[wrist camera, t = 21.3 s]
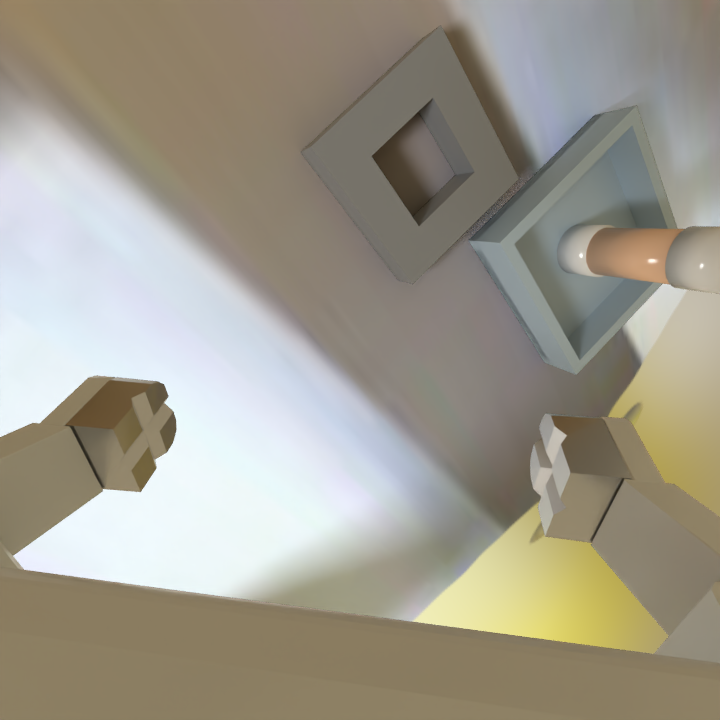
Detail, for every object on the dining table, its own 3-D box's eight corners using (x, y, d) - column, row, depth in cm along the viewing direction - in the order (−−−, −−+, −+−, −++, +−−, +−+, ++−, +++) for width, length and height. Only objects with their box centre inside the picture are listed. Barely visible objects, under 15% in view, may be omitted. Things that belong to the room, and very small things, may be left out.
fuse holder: (498, 181, 37) (519, 178, 35) (397, 280, 36) (412, 284, 34) (421, 38, 31) (440, 25, 29) (300, 152, 30) (310, 146, 28)
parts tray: (647, 254, 46) (687, 257, 43) (544, 362, 45) (576, 374, 41) (594, 115, 39) (636, 105, 35) (468, 240, 37) (499, 242, 34)
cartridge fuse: (599, 251, 42) (759, 263, 31) (568, 283, 42) (719, 307, 30) (582, 214, 40) (747, 212, 28) (550, 247, 40) (703, 259, 28)
